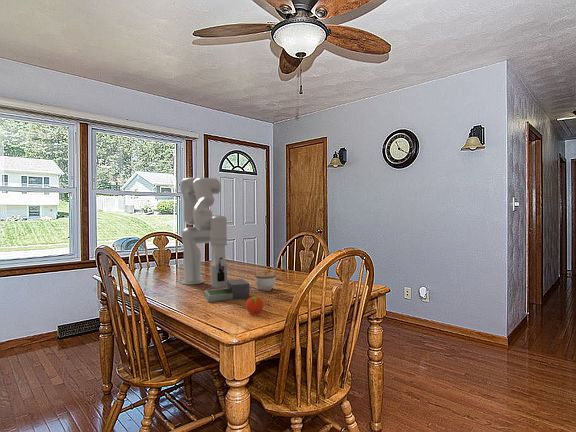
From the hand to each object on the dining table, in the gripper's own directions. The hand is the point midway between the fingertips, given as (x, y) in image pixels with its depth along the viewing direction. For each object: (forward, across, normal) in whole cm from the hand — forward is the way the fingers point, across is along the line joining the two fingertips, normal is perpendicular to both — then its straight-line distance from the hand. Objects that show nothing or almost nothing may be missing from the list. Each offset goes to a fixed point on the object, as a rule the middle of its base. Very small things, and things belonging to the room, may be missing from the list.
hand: (219, 279), depth 170 cm
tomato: (+9, +31, +8) cm, 33 cm away
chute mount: (+9, 0, +3) cm, 10 cm away
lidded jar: (+9, -9, +26) cm, 29 cm away
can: (+4, 0, 0) cm, 4 cm away
